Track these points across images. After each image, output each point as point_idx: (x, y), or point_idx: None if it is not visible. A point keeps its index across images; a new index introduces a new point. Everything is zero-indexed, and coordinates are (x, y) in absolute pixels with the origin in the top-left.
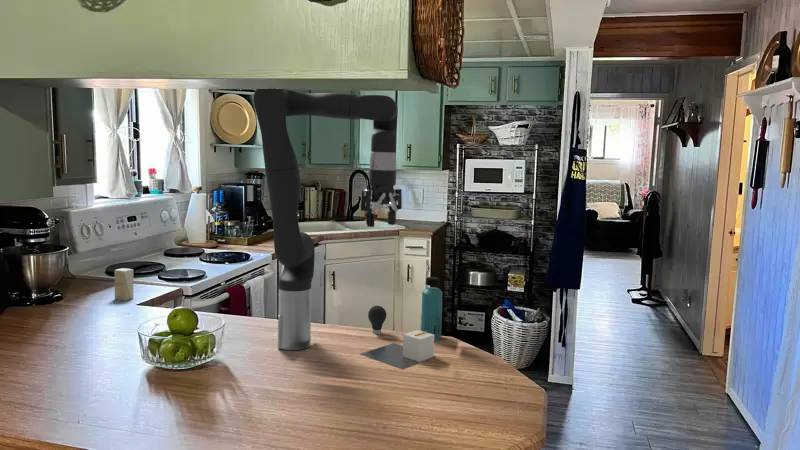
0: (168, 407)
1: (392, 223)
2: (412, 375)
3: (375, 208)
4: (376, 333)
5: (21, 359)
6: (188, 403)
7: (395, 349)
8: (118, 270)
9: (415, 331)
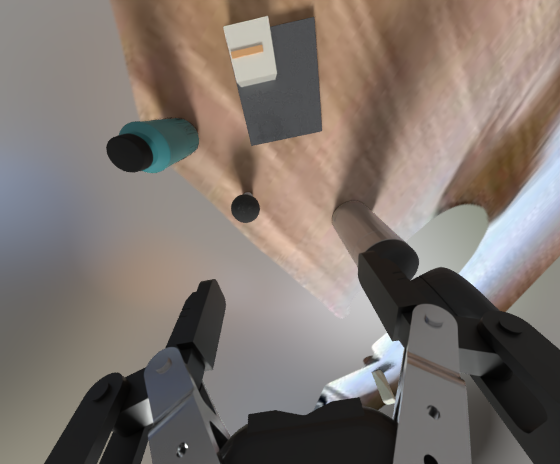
0: None
1: (214, 285)
2: (299, 6)
3: (420, 347)
4: (250, 194)
5: (522, 286)
6: (550, 112)
7: (266, 117)
8: (395, 400)
9: (245, 76)
